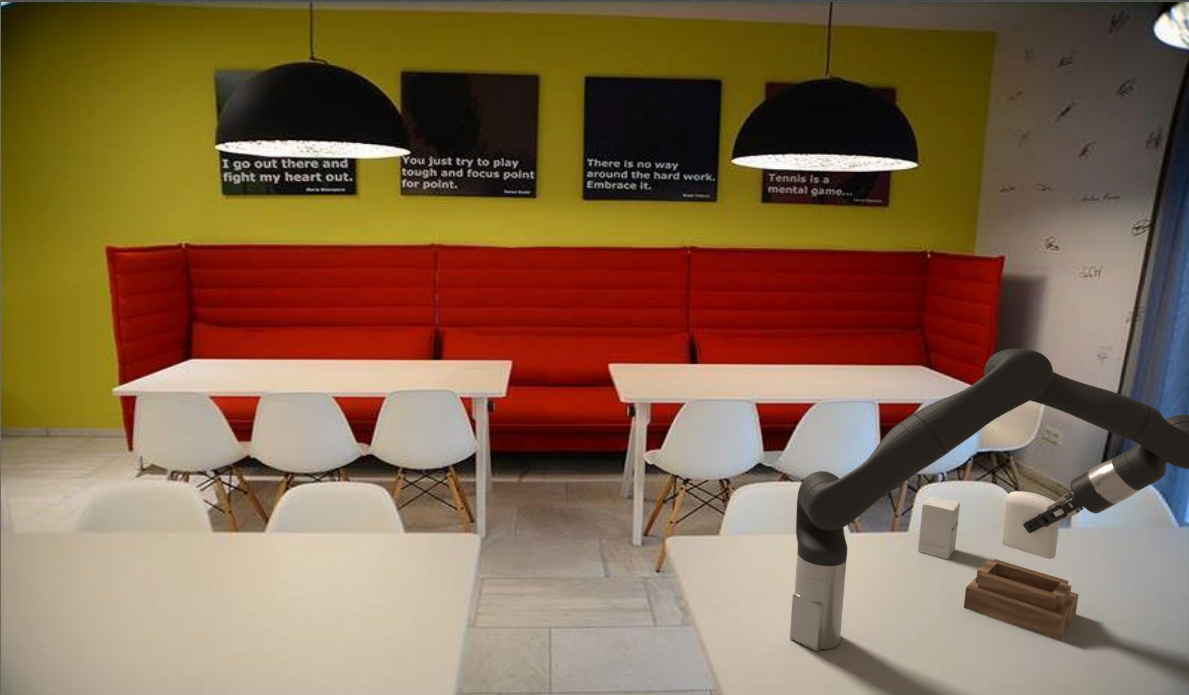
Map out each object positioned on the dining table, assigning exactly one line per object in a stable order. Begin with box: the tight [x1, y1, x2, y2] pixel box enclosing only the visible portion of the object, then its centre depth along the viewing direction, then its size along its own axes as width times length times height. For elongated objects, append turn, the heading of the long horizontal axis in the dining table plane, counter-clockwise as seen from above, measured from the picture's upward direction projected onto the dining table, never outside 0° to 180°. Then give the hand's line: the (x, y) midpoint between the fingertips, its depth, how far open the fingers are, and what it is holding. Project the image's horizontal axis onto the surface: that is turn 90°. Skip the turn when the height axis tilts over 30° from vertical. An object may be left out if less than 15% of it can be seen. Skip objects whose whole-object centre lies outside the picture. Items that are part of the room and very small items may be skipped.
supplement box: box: [917, 495, 961, 560], centre depth 195 cm, size 7×7×13 cm
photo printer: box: [1001, 490, 1060, 560], centre depth 164 cm, size 10×4×12 cm, turn 40°
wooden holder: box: [963, 559, 1079, 641], centre depth 167 cm, size 14×18×8 cm
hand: (1031, 525), depth 164 cm, fingers closed on photo printer, 4 cm apart
